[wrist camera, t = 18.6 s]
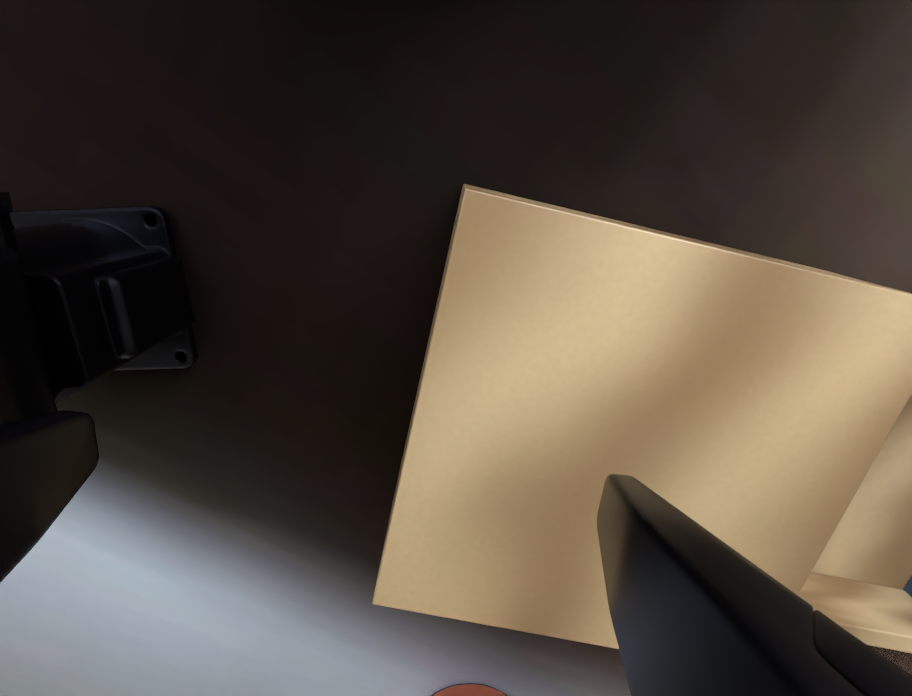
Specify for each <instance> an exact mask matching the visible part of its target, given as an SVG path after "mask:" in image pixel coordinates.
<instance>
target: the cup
mask: <svg viewBox="0 0 912 696" xmlns="http://www.w3.org/2000/svg"><path fill="white" fill-rule="evenodd" d="M433 696H506V695H505V694H503V693H502V692H500V691H498V690H496V689H494V688H491V687H488V686H484V685H478V684H460V685H455V686H451V687H448V688H445V689H443V690H441V691H439V692H437V693H435V694H434V695H433Z"/></svg>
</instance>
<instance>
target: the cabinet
mask: <svg viewBox="0 0 912 696" xmlns="http://www.w3.org/2000/svg"><path fill="white" fill-rule="evenodd" d="M911 395H912V293H908V292H904V291H901V290H897V289H893V288H889V287H885V286H882V285H878V284H874V283H870V282H866V281H863V280H859V279H855V278H851V277H848V276H844V275H840V274H836V273H832V272H829V271H825V270H821V269H817V268H813V267H809V266H805V265H800V264H796V263H792V262H788V261H784V260H780V259H775V258H771V257H767V256H763V255H759V254H755V253H750V252H746V251H742V250H738V249H734V248H730V247H726V246H721V245H717V244H713V243H709V242H705V241H701V240H696V239H692V238H688V237H684V236H680V235H676V234H671V233H667V232H663V231H659V230H655V229H651V228H646V227H642V226H638V225H634V224H630V223H626V222H621V221H617V220H613V219H609V218H605V217H601V216H597V215H592V214H588V213H584V212H580V211H576V210H572V209H567V208H563V207H559V206H555V205H551V204H547V203H542V202H538V201H534V200H530V199H526V198H522V197H517V196H513V195H509V194H505V193H501V192H497V191H492V190H488V189H484V188H480V187H476V186H472V185H467V184H463V187H462V191H461V196H460V200H459V205H458V209H457V214H456V218H455V223H454V227H453V232H452V236H451V241H450V245H449V250H448V254H447V259H446V263H445V268H444V272H443V277H442V281H441V286H440V290H439V295H438V299H437V304H436V308H435V313H434V317H433V322H432V326H431V331H430V335H429V340H428V344H427V349H426V353H425V358H424V362H423V367H422V372H421V376H420V381H419V385H418V390H417V394H416V399H415V403H414V408H413V412H412V417H411V421H410V426H409V430H408V435H407V439H406V444H405V448H404V453H403V457H402V462H401V466H400V471H399V475H398V480H397V484H396V489H395V493H394V498H393V502H392V507H391V512H390V517H389V522H388V527H387V532H386V537H385V542H384V546H383V551H382V556H381V561H380V566H379V571H378V576H377V581H376V586H375V591H374V595H373V600H372V604H374V605H380V606H385V607H391V608H396V609H402V610H407V611H413V612H418V613H424V614H429V615H435V616H440V617H446V618H451V619H457V620H462V621H467V622H473V623H478V624H484V625H489V626H495V627H500V628H506V629H511V630H517V631H522V632H528V633H533V634H539V635H544V636H550V637H555V638H561V639H566V640H572V641H577V642H583V643H588V644H594V645H599V646H605V647H610V648H616V649H619V646H618V643H617V639H616V635H615V631H614V628H613V624H612V619H611V615H610V611H609V605H608V599H607V593H606V586H605V579H604V572H603V566H602V559H601V552H600V545H599V538H598V531H597V514H598V509H599V505H600V500H601V496H602V492H603V487H604V483H605V480H606V478H607V476H608V475H610V474H620V475H629V476H633V477H635V478H636V479H637V480H639V481H640V482H641V483H643V484H644V485H646V486H647V487H648V488H650V489H651V490H652V491H654V492H655V493H657V494H658V495H659V496H661V497H662V498H664V499H665V500H666V501H668V502H669V503H670V504H672V505H673V506H675V507H676V508H677V509H679V510H680V511H682V512H683V513H684V514H686V515H687V516H688V517H690V518H691V519H693V520H694V521H695V522H697V523H698V524H700V525H701V526H702V527H704V528H705V529H706V530H708V531H709V532H711V533H712V534H713V535H715V536H716V537H718V538H719V539H720V540H722V541H723V542H724V543H726V544H727V545H729V546H730V547H731V548H733V549H734V550H736V551H737V552H738V553H740V554H741V555H743V556H744V557H745V558H747V559H748V560H749V561H751V562H752V563H754V564H755V565H756V566H758V567H759V568H761V569H762V570H763V571H765V572H766V573H767V574H769V575H770V576H772V577H773V578H774V579H776V580H777V581H779V582H780V583H781V584H783V585H784V586H785V587H787V588H788V589H790V590H791V591H792V592H794V593H795V594H797V595H798V594H799V592H800V591H801V589H802V587H803V585H804V584H805V582H806V580H807V578H808V577H809V575H810V573H811V571H812V569H813V568H814V566H815V564H816V562H817V561H818V559H819V557H820V555H821V554H822V552H823V550H824V548H825V546H826V545H827V543H828V541H829V539H830V538H831V536H832V534H833V532H834V531H835V529H836V527H837V525H838V524H839V522H840V520H841V518H842V516H843V515H844V513H845V511H846V509H847V508H848V506H849V504H850V502H851V501H852V499H853V497H854V495H855V493H856V492H857V490H858V488H859V486H860V485H861V483H862V481H863V479H864V478H865V476H866V474H867V472H868V470H869V469H870V467H871V465H872V463H873V462H874V460H875V458H876V456H877V455H878V453H879V451H880V449H881V448H882V446H883V444H884V442H885V440H886V439H887V437H888V435H889V433H890V432H891V430H892V428H893V426H894V425H895V423H896V421H897V419H898V417H899V416H900V414H901V412H902V410H903V409H904V407H905V405H906V403H907V402H908V400H909V398H910V396H911Z"/></svg>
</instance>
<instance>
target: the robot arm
mask: <svg viewBox="0 0 912 696" xmlns="http://www.w3.org/2000/svg"><path fill="white" fill-rule="evenodd" d="M151 214H153V215H154V216H155V217H156V219H157V224H156V226H154V225H153V224H152V223H151V222H150V215H151ZM12 223H13V224H14V228H13V226H12ZM193 321H194V318H193V313H192V308H191V303H190V299H189V294H188V289H187V284H186V280H185V275H184V270H183V266H182V262H181V261H180V260H179V259H178V258H177V254H176V249H175V245H174V240H173V235H172V230H171V226H170V221H169V218H168V215H167V213H166V212H165V211H164V210H163V209H161V208H159V207H156V206H143V207H117V208H91V209H65V210H39V211H13V207H12V203H11V199H10V195H9V192H0V582H1V581H2V580H3V579H4V578H5V577H6V576H7V575H8V574H9V573H10V572H11V571H12V570H13V568H14V567H15V566H16V565H17V564H18V563H19V562H20V561H21V560H22V559H23V558H24V557H25V556H26V554H27V553H28V552H29V551H30V550H31V549H32V548H33V547H34V546H35V544H36V543H37V542H38V541H39V540H40V538H41V537H42V536H43V535H44V534H45V532H46V531H47V530H48V529H49V527H50V526H51V525H52V523H53V522H54V521H55V520H56V518H57V517H58V516H59V514H60V513H61V512H62V511H63V509H64V508H65V507H66V505H67V504H68V503H69V502H70V500H71V499H72V498H73V496H74V495H75V494H76V493H77V491H78V490H79V489H80V487H81V486H82V485H83V484H84V482H85V481H86V480H87V478H88V477H89V476H90V475H91V473H92V472H93V471H94V469H95V467H96V465H97V463H98V459H99V452H98V445H97V439H96V432H95V426H94V421H93V419H92V417H91V416H90V415H89V414H87V413H83V412H75V411H59V412H58V411H57V407H56V403H58V402H60V401H62V400H63V399H65V398H67V397H69V396H70V395H72V394H74V393H76V392H77V391H79V390H81V389H83V388H85V387H86V386H88V385H90V384H92V383H93V382H95V381H97V380H99V379H100V378H102V377H104V376H106V375H107V374H109V373H111V372H113V371H114V370H144V369H174V368H187V367H189V366H190V365H192V364H193V363H194V362H196V360H197V358H198V352H197V348H196V343H195V338H194V334H193V329H192V323H193ZM180 351H182V352H184V353H185V354H186V355H187V359H184V358H182V357H181V355H180ZM597 531H598V538H599V545H600V552H601V559H602V566H603V572H604V579H605V586H606V593H607V599H608V605H609V611H610V615H611V619H612V624H613V628H614V631H615V635H616V639H617V643H618V646H619V650H620V654H621V658H622V661H623V665H624V669H625V673H626V676H627V680H628V684H629V688H630V692H631V695H632V696H912V675H910V674H909V673H907V672H906V671H904V670H903V669H901V668H900V667H898V666H897V665H895V664H894V663H892V662H891V661H889V660H888V659H886V658H885V657H884V656H882V655H881V654H879V653H878V652H876V651H875V650H874V649H872V648H871V647H869V646H868V645H866V644H865V643H864V642H862V641H861V640H859V639H858V638H856V637H855V636H854V635H852V634H851V633H849V632H848V631H846V630H845V629H844V628H842V627H841V626H839V625H838V624H837V623H835V622H834V621H833V620H831V619H830V618H829V617H827V616H826V615H824V614H823V613H822V612H820V611H819V610H814V611H813V607H812V605H810V604H809V603H808V602H806V601H805V600H803V599H802V598H801V597H799V596H798V595H797V594H795V593H794V592H792V591H791V590H790V589H788V588H787V587H785V586H784V585H783V584H781V583H780V582H779V581H777V580H776V579H774V578H773V577H772V576H770V575H769V574H767V573H766V572H765V571H763V570H762V569H761V568H759V567H758V566H756V565H755V564H754V563H752V562H751V561H749V560H748V559H747V558H745V557H744V556H743V555H741V554H740V553H738V552H737V551H736V550H734V549H733V548H731V547H730V546H729V545H727V544H726V543H724V542H723V541H722V540H720V539H719V538H718V537H716V536H715V535H713V534H712V533H711V532H709V531H708V530H706V529H705V528H704V527H702V526H701V525H700V524H698V523H697V522H695V521H694V520H693V519H691V518H690V517H688V516H687V515H686V514H684V513H683V512H682V511H680V510H679V509H677V508H676V507H675V506H673V505H672V504H670V503H669V502H668V501H666V500H665V499H664V498H662V497H661V496H659V495H658V494H657V493H655V492H654V491H652V490H651V489H650V488H648V487H647V486H646V485H644V484H643V483H641V482H640V481H639V480H637V479H636V478H635V477H633V476H629V475H620V474H610V475H608V476H607V478H606V480H605V483H604V487H603V492H602V496H601V500H600V505H599V509H598V514H597Z"/></svg>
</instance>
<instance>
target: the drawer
mask: <svg viewBox="0 0 912 696" xmlns="http://www.w3.org/2000/svg"><path fill="white" fill-rule="evenodd" d="M910 577H911V578H910ZM908 580H909V581H908ZM907 582H908V583H907ZM905 585H906V586H905ZM903 588H904V589H903ZM798 596H799V597H801V598H802V599H803V600H805V601H806V602H808V603H809V604H810V605H812V607H813V611H814V610H819V611H820V612H822V613H823V614H824V615H826V616H827V617H829V618H830V619H831V620H833V621H834V622H835V623H837V624H838V625H839V626H841V627H842V628H844V629H845V630H846V631H848V632H849V633H851V634H852V635H854V636H855V637H856V638H858V639H859V640H861V641H862V642H864V643H865V644H866V645H870V646H876V647H881V648H886V649H892V650H897V651H902V652H907V653H912V395H911V396H910V398H909V400H908V402H907V403H906V405H905V407H904V409H903V410H902V412H901V414H900V416H899V417H898V419H897V421H896V423H895V425H894V426H893V428H892V430H891V432H890V433H889V435H888V437H887V439H886V440H885V442H884V444H883V446H882V448H881V449H880V451H879V453H878V455H877V456H876V458H875V460H874V462H873V463H872V465H871V467H870V469H869V470H868V472H867V474H866V476H865V478H864V479H863V481H862V483H861V485H860V486H859V488H858V490H857V492H856V493H855V495H854V497H853V499H852V501H851V502H850V504H849V506H848V508H847V509H846V511H845V513H844V515H843V516H842V518H841V520H840V522H839V524H838V525H837V527H836V529H835V531H834V532H833V534H832V536H831V538H830V539H829V541H828V543H827V545H826V546H825V548H824V550H823V552H822V554H821V555H820V557H819V559H818V561H817V562H816V564H815V566H814V568H813V569H812V571H811V573H810V575H809V577H808V578H807V580H806V582H805V584H804V585H803V587H802V589H801V591H800V592H799V594H798Z"/></svg>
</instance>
